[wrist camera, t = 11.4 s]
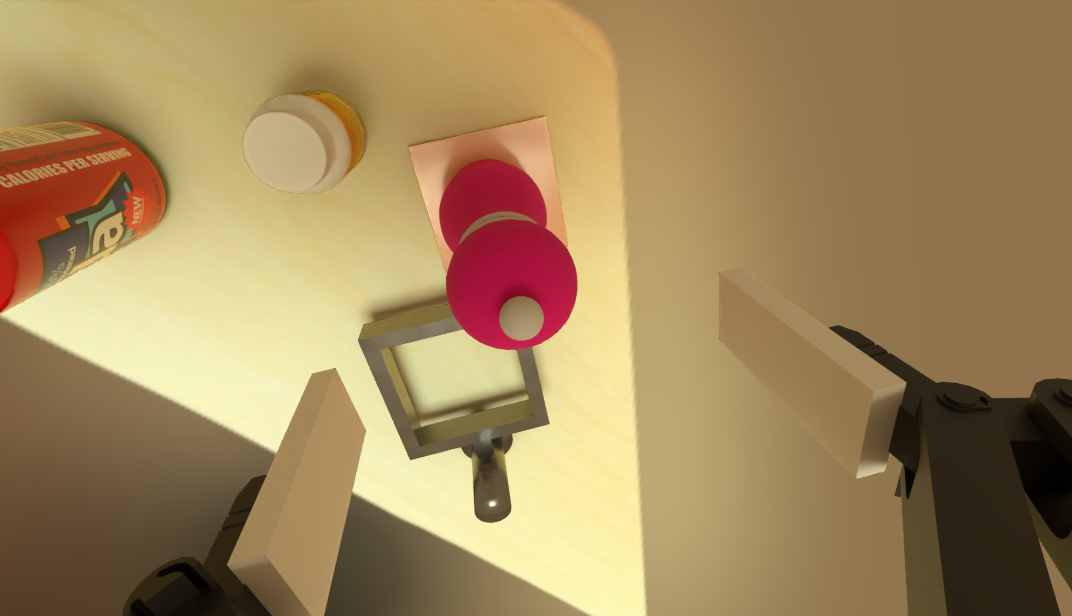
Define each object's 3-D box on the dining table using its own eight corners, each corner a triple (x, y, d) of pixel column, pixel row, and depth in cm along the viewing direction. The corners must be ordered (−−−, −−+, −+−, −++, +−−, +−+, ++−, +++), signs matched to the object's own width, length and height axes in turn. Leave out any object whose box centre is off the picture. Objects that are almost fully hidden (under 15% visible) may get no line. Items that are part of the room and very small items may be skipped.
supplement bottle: (324, 187, 34) (281, 225, 25) (267, 118, 31) (199, 135, 23) (385, 146, 33) (362, 171, 25) (332, 73, 31) (286, 73, 22)
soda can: (107, 96, 30) (-173, 118, 16) (199, 207, 33) (32, 298, 20) (3, 153, 30) (-352, 218, 17) (105, 256, 34) (-119, 376, 20)
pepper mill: (537, 151, 35) (625, 235, 17) (535, 245, 38) (607, 398, 20) (437, 151, 33) (418, 241, 16) (443, 248, 37) (434, 412, 19)
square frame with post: (367, 312, 39) (345, 375, 31) (514, 277, 39) (529, 329, 31) (431, 468, 47) (427, 548, 39) (551, 437, 48) (571, 510, 40)
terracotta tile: (408, 146, 34) (407, 147, 33) (544, 116, 34) (545, 116, 34) (447, 272, 38) (447, 275, 38) (566, 244, 39) (567, 246, 38)
